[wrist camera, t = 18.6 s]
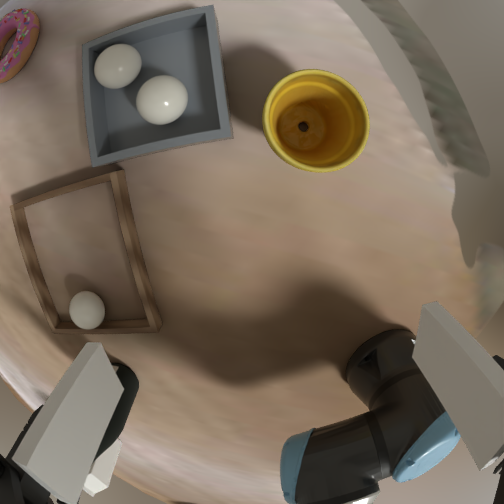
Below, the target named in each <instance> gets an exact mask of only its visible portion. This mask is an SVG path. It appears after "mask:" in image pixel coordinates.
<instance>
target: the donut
mask: <svg viewBox="0 0 504 504" xmlns="http://www.w3.org/2000/svg"><path fill="white" fill-rule="evenodd" d="M39 29H40V25H39V19H38V17H37V15H36V14H35V13H34V12H33V11H31V10H29V9H18V10H15V9H14V10H13V11H12V12H11V13H8V14H6V15H5V16H4V17H3V18H2V19H1V20H0V83H3V82H6V81H8V80H10V79H11V78H12V77H14V76H15V75H16V74H17V73H18V72H19V71H20V70H21V69H22V67H23V66H24V65H25V63H26V62H27V60H28V59H29V57H30V55H31V54H32V51H33V49H34V47H35V45H36V42H37V39H38V35H39ZM16 31H17V35H16V38H15V41H14V43H13V45H12V47H11V49H10V50H9V52H8V53H7V54H6V56H5V57H4V58H3V59H2V60H1V56H2V52H3V49H4V47H5V45H6V43H7V41H8V40H9V38H10V37H11V36H12V35H13V34H14V33H15V32H16Z"/></svg>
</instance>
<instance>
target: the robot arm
mask: <svg viewBox="0 0 504 504" xmlns="http://www.w3.org/2000/svg"><path fill="white" fill-rule="evenodd" d="M346 378H347V381H348V384H349V386H350V388H351V390H352V391H353V393H354V394H355V395H356V396H357V397H358V398H359V399H360V400H361V401H362V402H363V403H364V404H365V405H366V406H367V407H368V408H369V410H370V411H369V412H366V413H363V414H360V415H358V416H355V417H352V418H349V419H346V420H343V421H340V422H337V423H334V424H330V425H327V426H324V427H320V428H317V429H316V428H312V429H311V430H309V431H306V432H303V433H300V434H296V435H293V436H291V437H290V438H288V439H287V441H286V442H285V443H284V446H283V449H282V453H281V460H280V478H281V487H282V491H283V493H284V498H285V500H286V502H287V503H289V504H373V502H374V500H375V499H376V497H377V496H378V494H379V493H380V489H379V485H378V481H379V480H382V479H384V478H387V477H390V476H392V477H393V479H394V480H396V481H397V482H405V481H407V480H412V479H413V478H416V477H418V476H420V475H422V474H423V473H425V472H427V471H428V470H430V469H431V468H433V467H434V466H435V465H437V464H438V463H439V462H440V461H441V460H443V459H444V458H445V457H446V456H447V455H448V454H449V453H450V452H451V451H452V450H453V448H454V447H455V446H456V444H457V443H458V441H459V439H460V437H462V439H463V441H464V443H465V444H466V446H467V448H468V450H469V452H470V453H471V455H472V457H473V459H474V461H475V463H476V465H477V467H478V469H479V471H481V470H483V469H484V468H486V467H487V466H489V465H490V464H492V463H494V462H495V461H496V460H497V459H498V458H499V457H500V456H501V455H502V453H503V452H504V359H502V358H501V357H499V356H497V355H495V356H494V357H491V356H490V355H489V353H488V352H487V351H486V350H485V349H484V348H483V347H482V346H481V345H480V344H479V343H478V342H477V341H476V340H475V338H474V337H473V336H472V335H471V334H470V333H469V332H468V331H467V330H466V329H465V328H464V327H463V326H462V325H461V324H460V323H459V322H458V321H457V320H456V319H455V318H454V317H453V316H452V315H451V314H450V313H449V312H448V311H447V310H446V309H445V308H444V307H443V306H441V305H440V304H439V303H438V302H437V301H436V302H432V303H428V304H424V305H422V310H421V316H420V322H419V327H418V332H417V337H416V336H415V335H414V334H413V333H411V332H409V331H406V330H390V331H386V332H383V333H381V334H379V335H377V336H375V337H373V338H371V339H370V340H368V341H367V342H365V343H364V344H363V345H362V346H361V347H360V348H359V349H358V350H357V351H356V352H355V353H354V354H353V356H352V357H351V359H350V361H349V363H348V365H347V368H346ZM123 390H124V388H123V386H122V384H121V383H120V381H119V379H118V377H117V375H116V373H115V371H114V369H113V367H112V365H111V363H110V361H109V359H108V357H107V355H106V353H105V351H104V348H103V346H102V344H101V342H87V343H86V345H85V346H84V347H83V349H82V350H81V351H80V353H79V354H78V356H77V357H76V358H75V360H74V361H73V363H72V364H71V365H70V367H69V368H68V370H67V371H66V373H65V374H64V375H63V377H62V378H61V380H60V381H59V383H58V384H57V386H56V387H55V389H54V390H53V392H52V393H51V395H50V396H49V398H48V399H47V401H46V402H45V404H44V405H41V406H40V407H39V408H38V409H37V410H36V411H35V412H34V413H33V414H32V416H31V417H30V419H29V421H28V424H26V426H25V427H24V431H22V432H21V433H20V435H19V437H18V438H17V440H16V442H15V444H14V445H13V447H12V449H11V451H10V452H9V454H8V456H7V457H6V458H4V457H3V456H2V455H1V454H0V504H54V503H53V501H52V499H51V498H49V496H50V494H52V495H54V496H55V497H56V498H58V499H59V500H60V501H63V502H65V503H67V504H77V502H78V500H79V497H80V494H81V491H82V489H83V486H84V483H85V481H86V478H87V475H88V473H89V470H90V468H91V465H92V463H93V460H94V458H95V455H96V453H97V450H98V448H99V445H100V443H101V441H102V438H103V436H104V433H105V431H106V429H107V426H108V424H109V422H110V420H111V417H112V415H113V413H114V410H115V408H116V406H117V404H118V401H119V399H120V397H121V395H122V393H123ZM501 467H502V470H501V471H500V472H499V474H501V475H500V480H499V484H498V488H497V491H496V495H495V499H494V502H493V504H504V459H503V460H502V462H500V464H499V465H498V466H497V467H496V468H495V470H494V472H493V473H494V474H495V473H497V471H498V470H499V469H500V468H501Z"/></svg>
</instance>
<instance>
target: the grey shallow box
mask: <svg viewBox="0 0 504 504" xmlns="http://www.w3.org/2000/svg"><path fill="white" fill-rule="evenodd" d="M115 44H128V45H130V46H132V47H134V48H135V49H136V50H137V51H138V52H139V54H140V56H141V60H142V66H141V70H140V72H139V74H138V76H137V77H136V79H135V80H134V81H133V82H132V83H130V84H129V85H127V86H125V87H122V88H119V89H110V88H106V87H104V86H102V85H101V84H100V83H99V82H98V81H97V79H96V77H95V74H94V66H95V62H96V60H97V58H98V56H99V55H100V54H101V53H102V52H103V51H104V50H105V49H106V48H108V47H110V46H112V45H115ZM82 73H83V94H84V107H85V118H86V127H87V136H88V143H89V150H90V157H91V163H92V167H97V166H103V165H109V164H113V163H117V162H120V161H124V160H128V159H132V158H136V157H140V156H144V155H149V154H153V153H157V152H162V151H166V150H171V149H176V148H181V147H186V146H191V145H197V144H202V143H208V142H214V141H221V140H227V139H234V137H233V130H232V123H231V115H230V108H229V101H228V94H227V86H226V79H225V72H224V65H223V57H222V50H221V43H220V35H219V28H218V21H217V17H216V13H215V10H214V6H213V5H209V6H204V7H198V8H193V9H188V10H184V11H180V12H175V13H171V14H167V15H164V16H160V17H156V18H153V19H149V20H146V21H143V22H140V23H137V24H134V25H131V26H128V27H125V28H122V29H119V30H117V31H114V32H111V33H109V34H106V35H104V36H101V37H99V38H97V39H94V40H92V41H90V42H87V43H85V44H83V45H82ZM159 75H169V76H173V77H175V78H177V79H179V80H180V81H181V82H182V83H183V84H184V85H185V87H186V90H187V93H188V103H187V106H186V109H185V111H184V112H183V114H182V115H181V116H180V117H179V118H178V119H176V120H175V121H173V122H171V123H168V124H164V125H156V124H152V123H149V122H147V121H146V120H144V119H143V118H142V117H141V115H140V114H139V112H138V110H137V106H136V97H137V94H138V91H139V89H140V88H141V86H142V85H143V84H144V83H145V82H146V81H148V80H149V79H151V78H153V77H155V76H159Z"/></svg>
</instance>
